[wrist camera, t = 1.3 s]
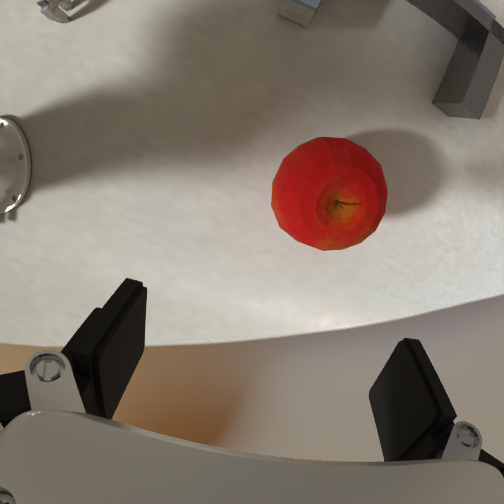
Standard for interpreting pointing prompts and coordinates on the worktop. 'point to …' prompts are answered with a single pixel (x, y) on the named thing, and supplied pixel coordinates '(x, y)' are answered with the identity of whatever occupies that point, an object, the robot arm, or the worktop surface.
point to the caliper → (56, 9)
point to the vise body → (467, 55)
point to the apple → (329, 193)
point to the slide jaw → (298, 10)
